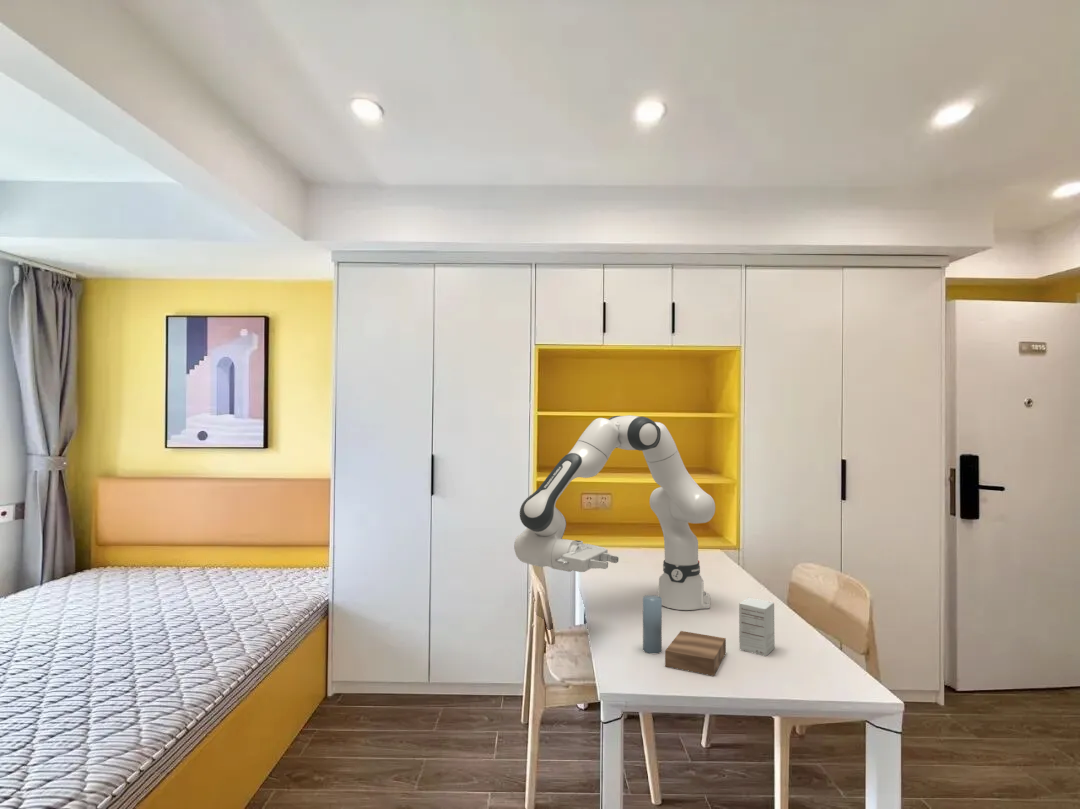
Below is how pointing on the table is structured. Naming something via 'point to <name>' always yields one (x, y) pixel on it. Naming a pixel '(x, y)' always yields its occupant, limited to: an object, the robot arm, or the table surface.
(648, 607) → the slate cylinder
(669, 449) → the robot arm
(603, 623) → the table surface
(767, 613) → the supplement box
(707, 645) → the plate
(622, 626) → the table surface
